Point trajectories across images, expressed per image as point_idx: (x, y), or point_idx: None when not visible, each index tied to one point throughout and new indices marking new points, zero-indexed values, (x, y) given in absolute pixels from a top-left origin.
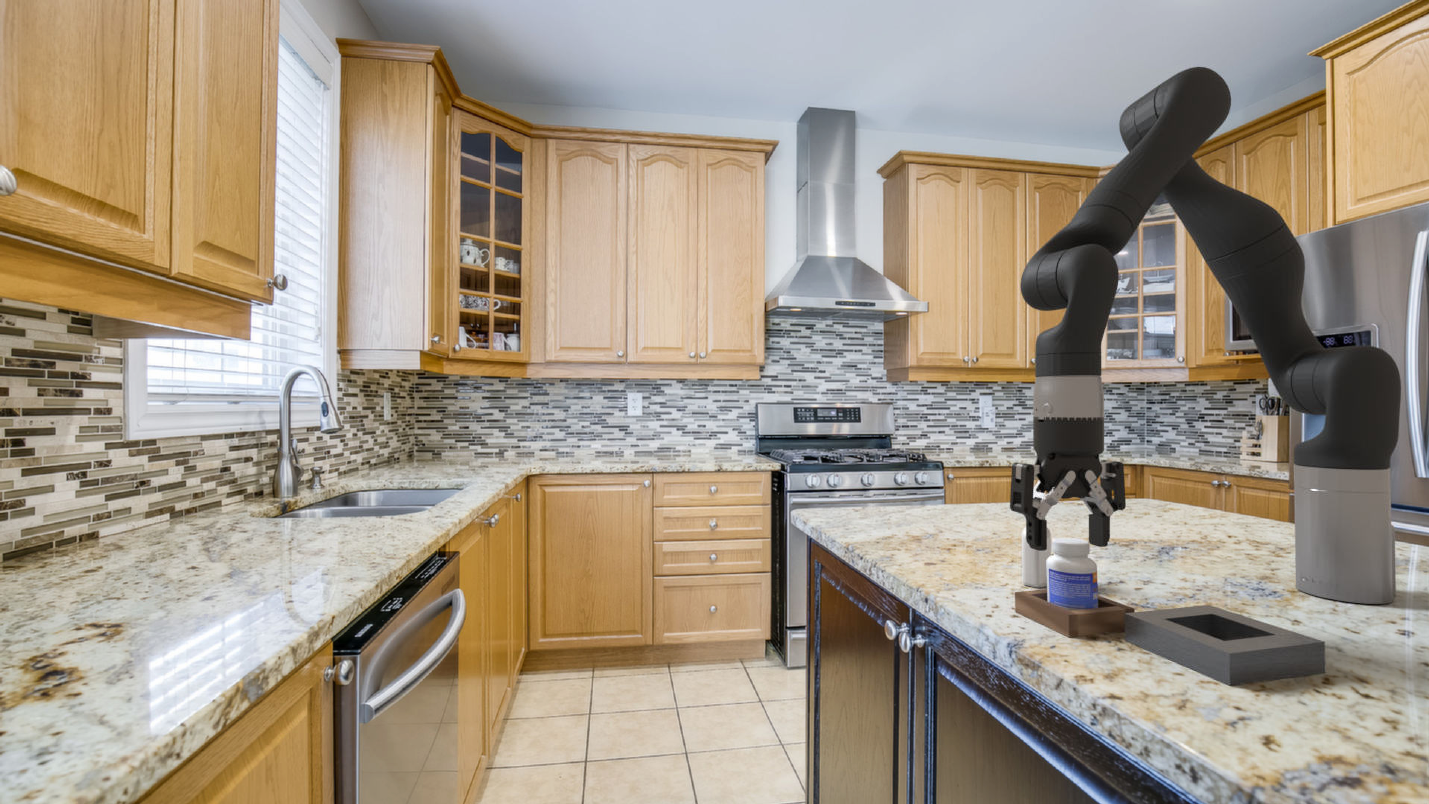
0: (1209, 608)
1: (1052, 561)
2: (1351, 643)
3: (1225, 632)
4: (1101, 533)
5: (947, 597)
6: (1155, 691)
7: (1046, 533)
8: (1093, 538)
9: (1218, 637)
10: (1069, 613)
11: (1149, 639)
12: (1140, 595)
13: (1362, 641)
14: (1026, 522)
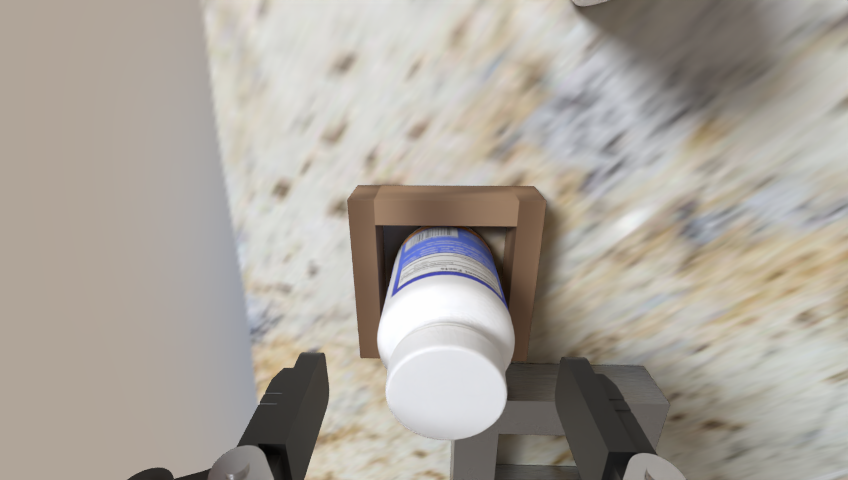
0: (645, 417)
1: (381, 344)
2: (789, 447)
3: None
4: (570, 437)
5: (238, 18)
6: (347, 476)
7: (311, 450)
8: (567, 385)
9: None
10: (368, 352)
11: None
12: (785, 155)
13: (817, 446)
14: (242, 438)
